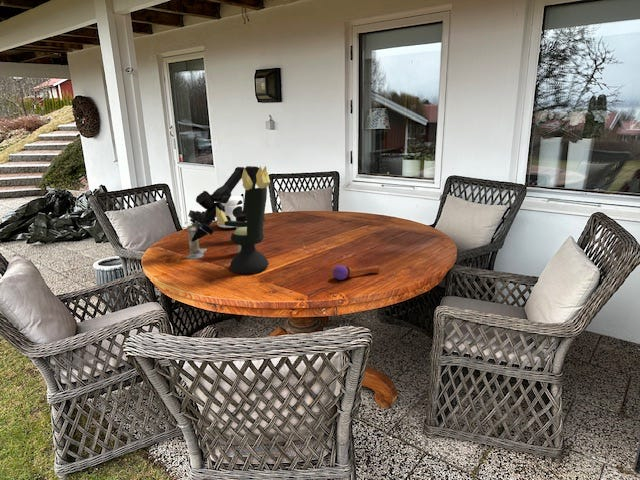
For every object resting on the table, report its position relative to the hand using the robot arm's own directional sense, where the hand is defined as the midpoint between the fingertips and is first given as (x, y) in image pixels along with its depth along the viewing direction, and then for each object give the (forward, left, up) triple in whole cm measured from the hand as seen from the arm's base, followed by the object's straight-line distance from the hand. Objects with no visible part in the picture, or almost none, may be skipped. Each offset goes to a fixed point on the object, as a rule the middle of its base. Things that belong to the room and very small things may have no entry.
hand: (190, 240), depth 200 cm
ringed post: (-1, -1, -7) cm, 7 cm away
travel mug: (-23, -10, -9) cm, 26 cm away
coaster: (-1, -1, -8) cm, 9 cm away
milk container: (+9, -56, -9) cm, 57 cm away
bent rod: (+2, -8, -8) cm, 12 cm away
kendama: (-81, +6, -9) cm, 82 cm away
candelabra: (-36, +8, -9) cm, 38 cm away
